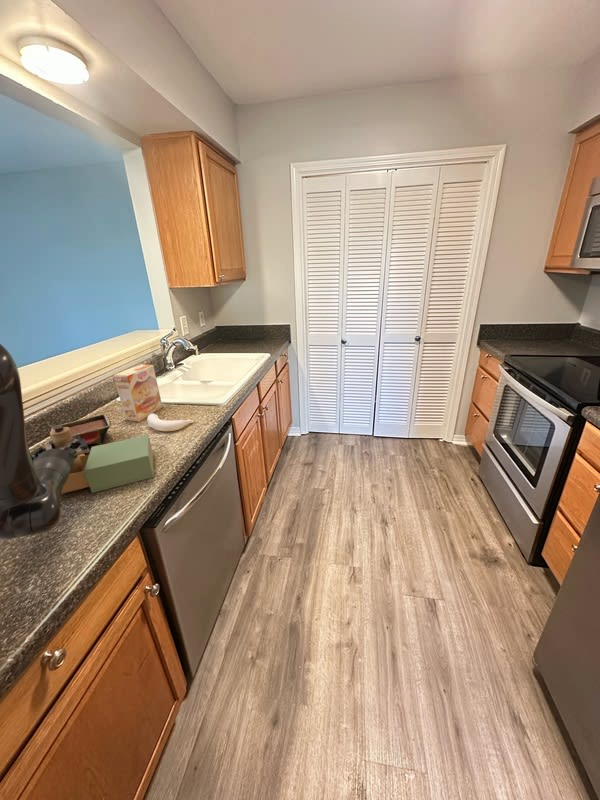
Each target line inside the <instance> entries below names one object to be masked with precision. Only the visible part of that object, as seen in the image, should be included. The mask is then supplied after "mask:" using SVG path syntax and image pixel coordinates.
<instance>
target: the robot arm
mask: <svg viewBox="0 0 600 800" xmlns="http://www.w3.org/2000/svg"><path fill="white" fill-rule="evenodd" d="M25 419H26V418H25V409H24V402H23V393H22V383H21V376H20V373H19V369H18V366H17V362H16V361H15V359H14V356H13V355H12V354H11V353H10V352H9V350H8V349H7V348H6V347H5V346H4V345H3V344H2V343H0V539H1V540H13V539H17V538H24V537H28V536H33V535H40V534H44V533H48V532H50V531H52V530H54V529H56V527H57V526H59V524H60V523H61V521H62V518H63V507H62V506H63V505H62V502H61V493H62V488H63V486H64V484H65V483H66V481H67V479H68V477H69V474H70V472H71V469H72V467H73V464H74V459H76V458H77V457H78V455H83V454H85V455H89V454H90V450H89V449H90V448H89V445H87V444H86V441H85V439H81V437H80V435H79V436H78V434H76V435H74V437H73V439H72V441H71V442H69V443H66V444H65V445H64V446H63V447H61V448H57V449H55V446H54V443H53V441H52V440H50V441H49V442H48V444H46V445H45V447H43V446H39V447H37V448H35V450H33V451H32V452H31V451H30V448H29V444H28V438H27V432H26V430H27V429H26V421H25Z"/></svg>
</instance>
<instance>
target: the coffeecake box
mask: <svg viewBox="0 0 600 800" xmlns="http://www.w3.org/2000/svg"><path fill="white" fill-rule="evenodd" d="M154 366H155V365H154V364H138V365H136V366H133V367H131V368H128V369H126V370H123V371H121V372H117V373H115V374H113V378H114V382H115V386H116V389H117V393H118V396H119V401H120V404H121V409H122V412H123V415H124V419H125V421H132V422H141V421H143V420H144V419H145V418H146V419H147V417H148V416H149V415H150V414H155V412H157V411H159V410H160V409H162V408H163V403H162V399H161V394H160V389H159V385H158V380H157V375H156V371H155V367H154Z"/></svg>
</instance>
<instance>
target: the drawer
mask: <svg viewBox="0 0 600 800" xmlns="http://www.w3.org/2000/svg"><path fill="white" fill-rule="evenodd" d="M79 456H80V459H81V462H82V465H83V468H84V469H85V466H86V463H87V460H88V457H89V455H85V454H80V455H79ZM86 488H90V486H89V483H88V481H87V478H86V475H85V472H84V471H81V472H77V473H73V474H69V477H68V479H67V481H66V483H65V484H64V486H63V488H62V491H61V493H62V494H65V493H69V492H74V491H77V490H82V489H86Z"/></svg>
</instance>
